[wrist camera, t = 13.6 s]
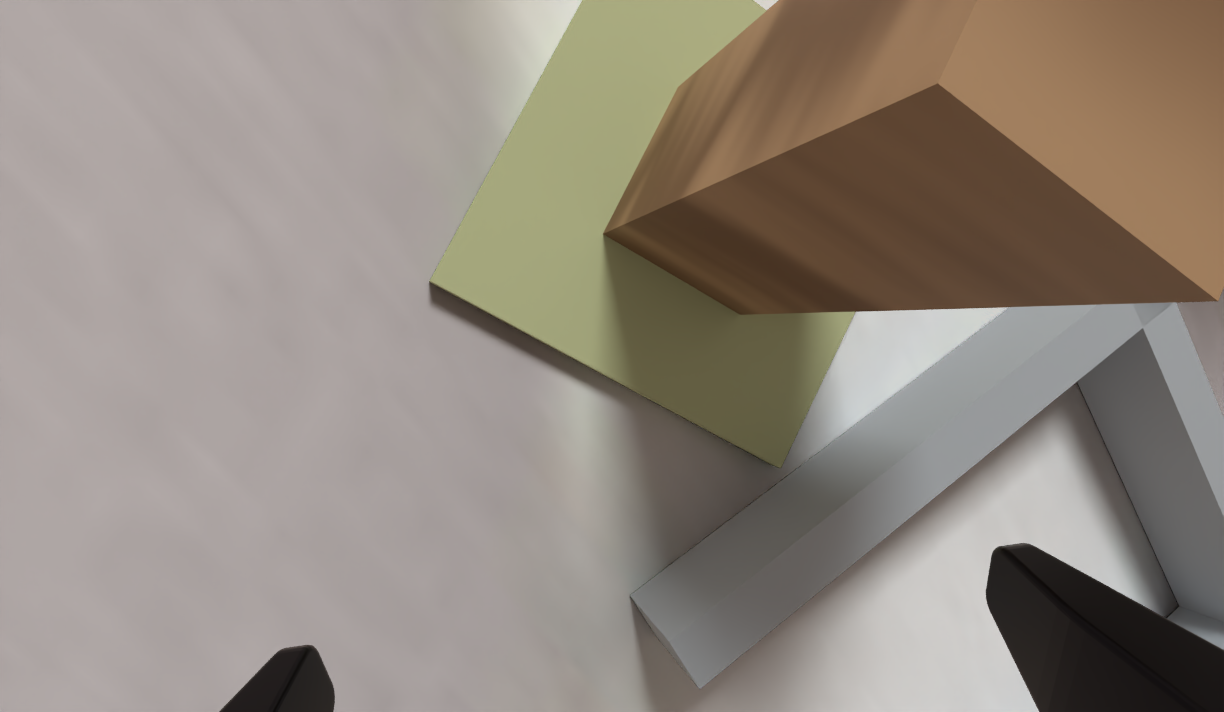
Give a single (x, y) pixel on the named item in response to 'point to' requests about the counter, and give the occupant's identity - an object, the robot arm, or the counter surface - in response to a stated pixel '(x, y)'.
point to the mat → (609, 272)
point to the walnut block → (944, 158)
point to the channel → (946, 449)
